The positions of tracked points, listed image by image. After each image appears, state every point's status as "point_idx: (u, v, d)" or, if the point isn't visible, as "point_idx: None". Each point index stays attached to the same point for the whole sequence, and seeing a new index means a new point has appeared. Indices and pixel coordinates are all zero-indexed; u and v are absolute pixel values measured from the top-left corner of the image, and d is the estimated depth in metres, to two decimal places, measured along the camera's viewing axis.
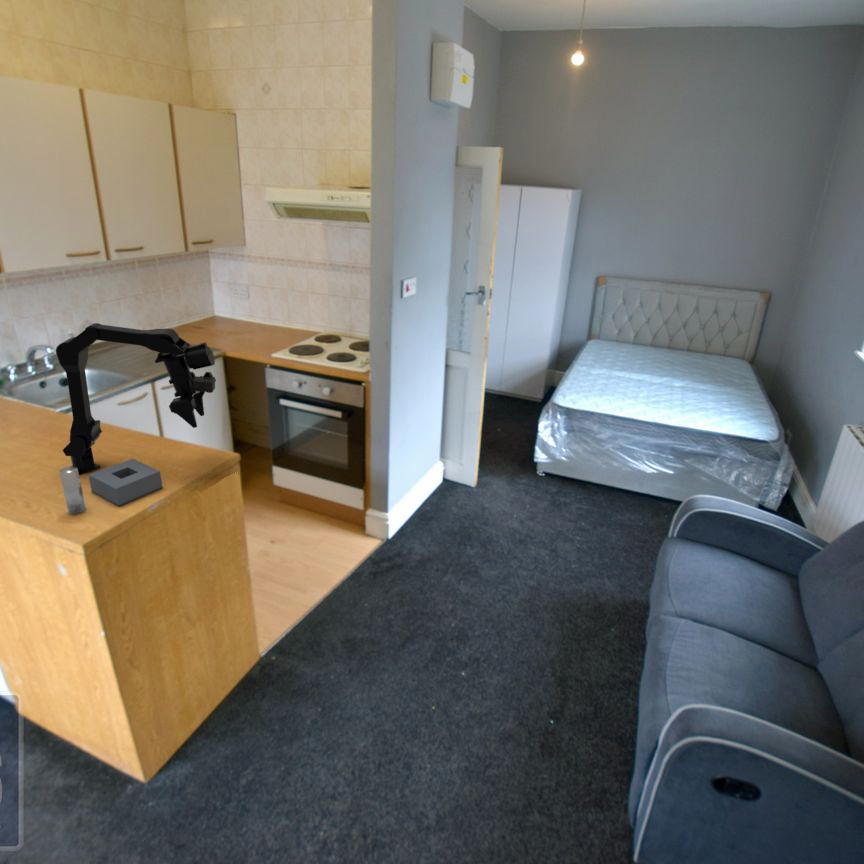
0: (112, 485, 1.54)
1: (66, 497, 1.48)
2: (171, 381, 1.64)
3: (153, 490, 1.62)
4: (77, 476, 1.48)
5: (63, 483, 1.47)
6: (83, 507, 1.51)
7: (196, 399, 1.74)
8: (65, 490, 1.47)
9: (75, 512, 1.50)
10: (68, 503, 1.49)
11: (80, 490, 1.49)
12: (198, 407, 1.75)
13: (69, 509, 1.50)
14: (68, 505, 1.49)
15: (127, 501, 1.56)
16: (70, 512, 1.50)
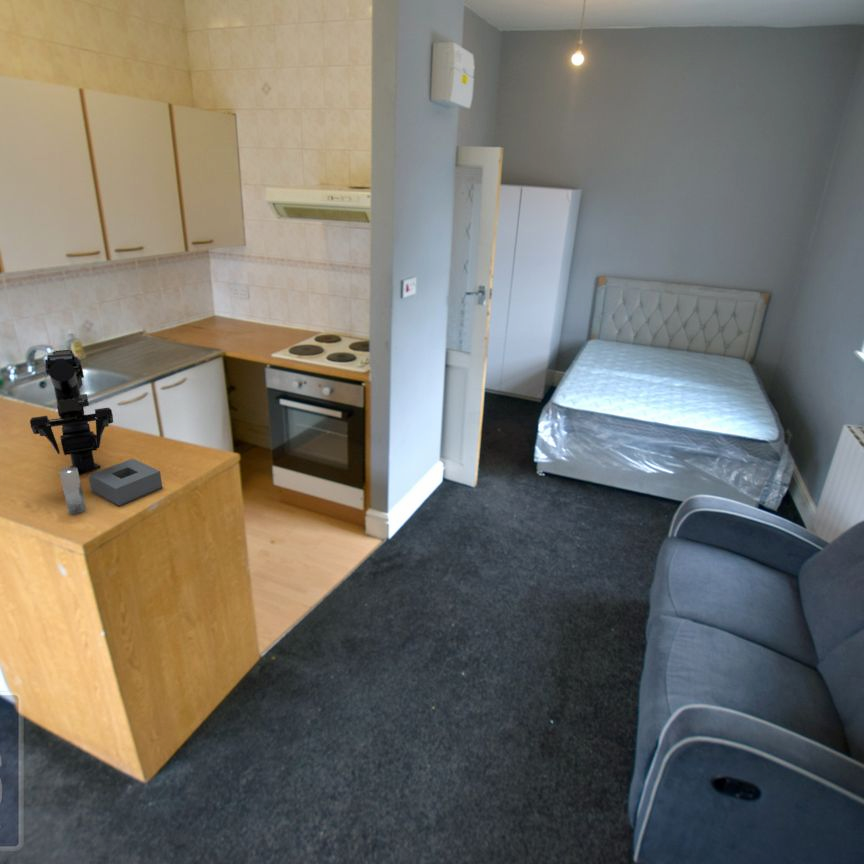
0: (112, 485, 1.54)
1: (66, 497, 1.48)
2: None
3: (153, 490, 1.62)
4: (77, 476, 1.48)
5: (63, 483, 1.47)
6: (83, 507, 1.51)
7: None
8: (65, 490, 1.47)
9: (75, 512, 1.50)
10: (68, 503, 1.49)
11: (80, 490, 1.49)
12: (97, 437, 1.56)
13: (69, 509, 1.50)
14: (68, 505, 1.49)
15: (127, 501, 1.56)
16: (70, 512, 1.50)
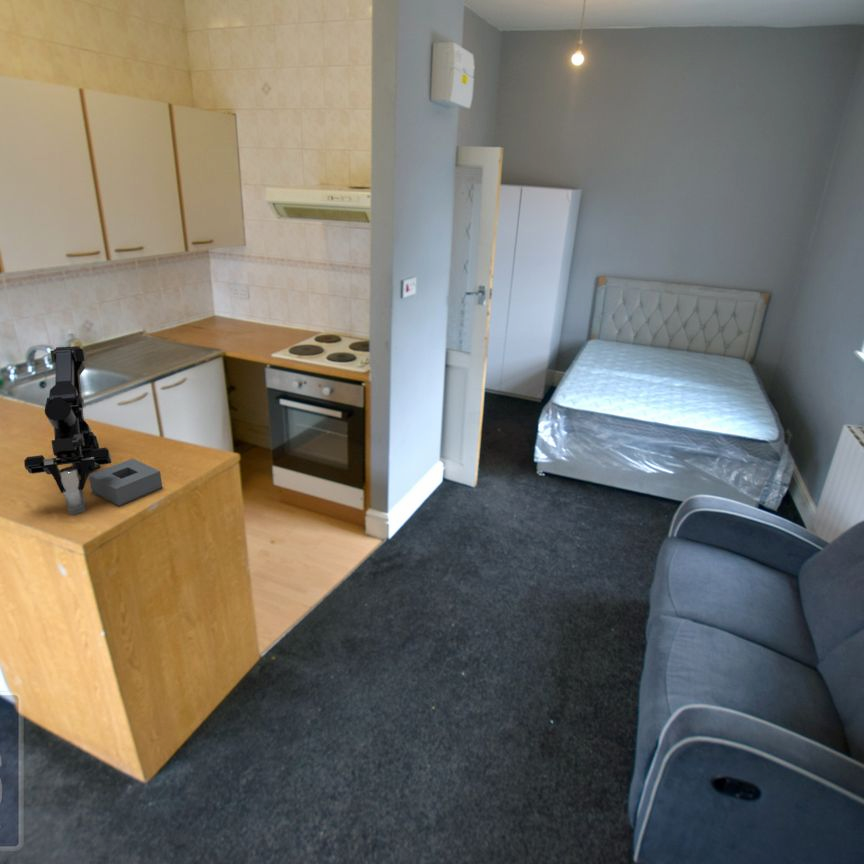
0: (112, 485, 1.54)
1: (66, 497, 1.48)
2: None
3: (153, 490, 1.62)
4: (77, 476, 1.48)
5: (63, 483, 1.47)
6: (83, 507, 1.51)
7: None
8: (65, 490, 1.47)
9: (75, 512, 1.50)
10: (68, 503, 1.49)
11: (80, 490, 1.49)
12: None
13: (69, 509, 1.50)
14: (68, 505, 1.49)
15: (127, 501, 1.56)
16: (70, 512, 1.50)
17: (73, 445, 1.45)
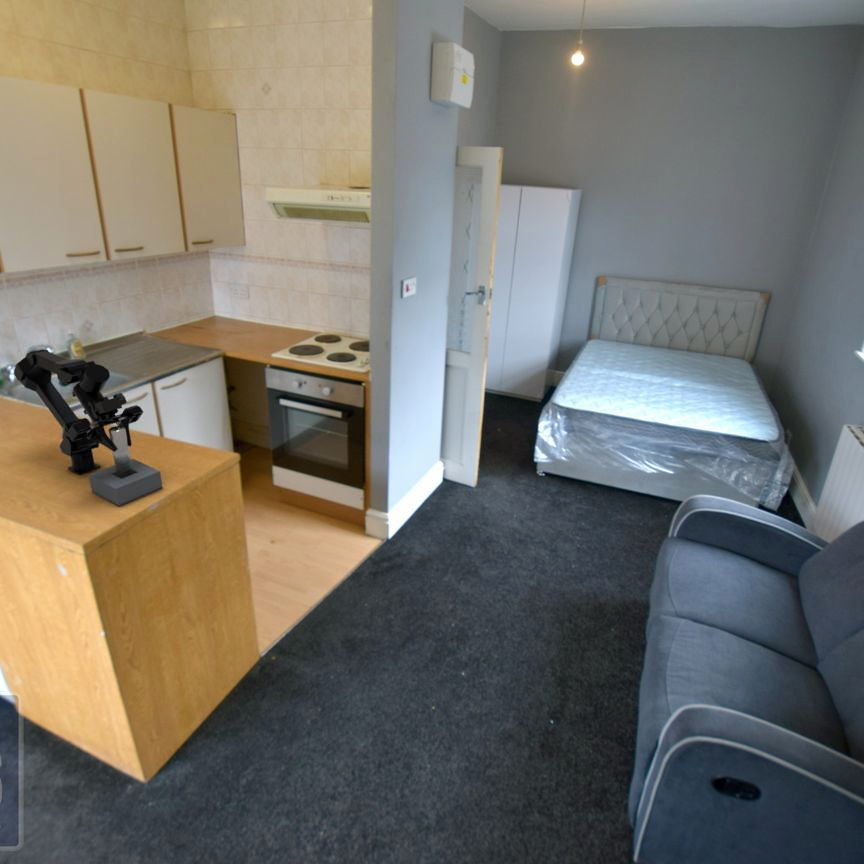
0: (112, 485, 1.54)
1: (118, 455, 1.56)
2: (84, 411, 1.57)
3: (153, 490, 1.62)
4: None
5: (116, 441, 1.55)
6: None
7: None
8: (118, 448, 1.56)
9: (127, 468, 1.59)
10: (120, 461, 1.57)
11: (128, 447, 1.59)
12: None
13: (120, 467, 1.58)
14: (120, 463, 1.57)
15: (127, 501, 1.56)
16: (121, 469, 1.58)
17: (120, 403, 1.54)
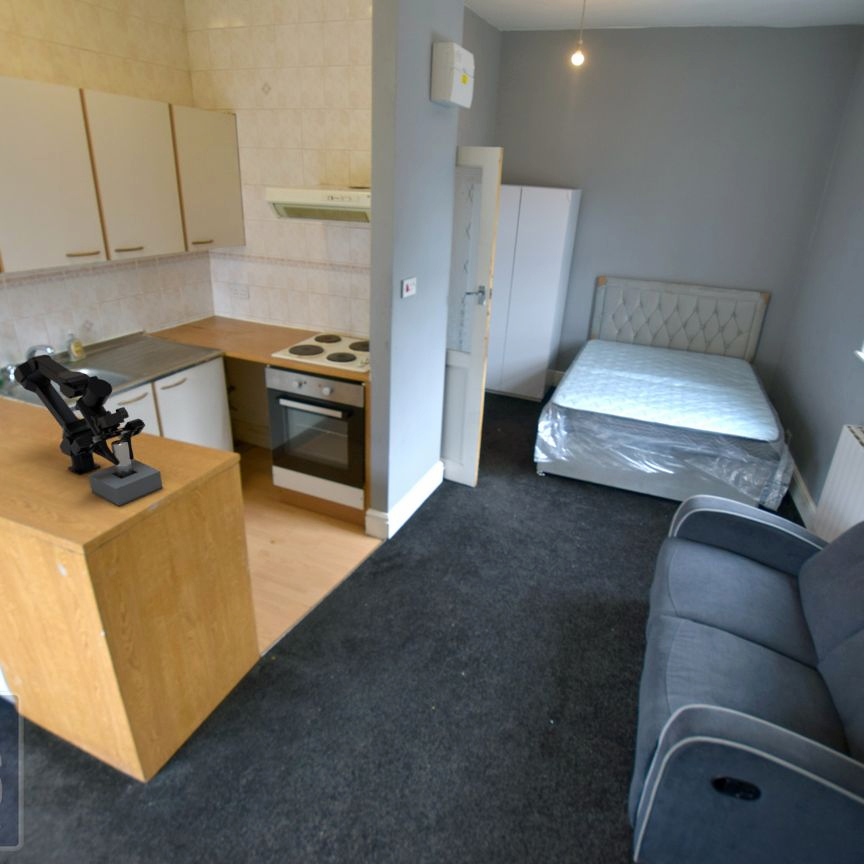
0: (112, 485, 1.54)
1: (120, 468, 1.58)
2: (87, 425, 1.59)
3: (153, 490, 1.62)
4: None
5: (118, 455, 1.56)
6: None
7: None
8: (120, 461, 1.57)
9: None
10: (122, 474, 1.59)
11: (130, 460, 1.60)
12: None
13: None
14: (122, 476, 1.59)
15: (127, 501, 1.56)
16: None
17: (122, 417, 1.56)
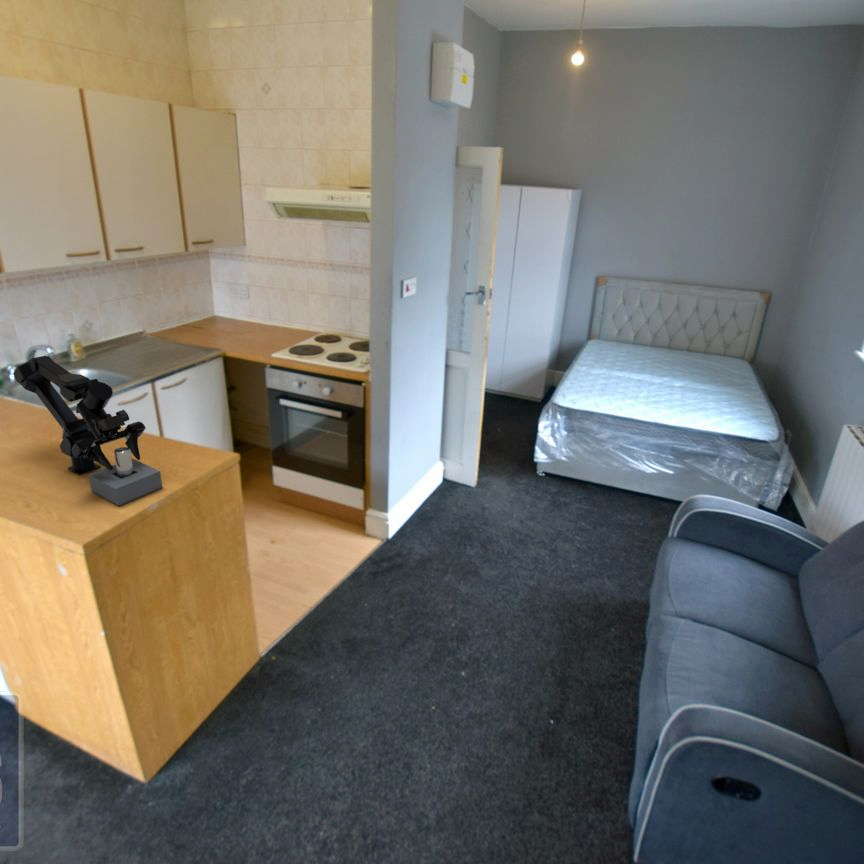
0: (112, 485, 1.54)
1: (122, 476, 1.59)
2: (87, 428, 1.59)
3: (153, 490, 1.62)
4: (130, 454, 1.59)
5: (121, 463, 1.57)
6: None
7: (130, 443, 1.62)
8: (122, 469, 1.58)
9: None
10: None
11: (132, 467, 1.61)
12: (134, 451, 1.62)
13: None
14: None
15: (127, 501, 1.56)
16: None
17: (123, 420, 1.56)
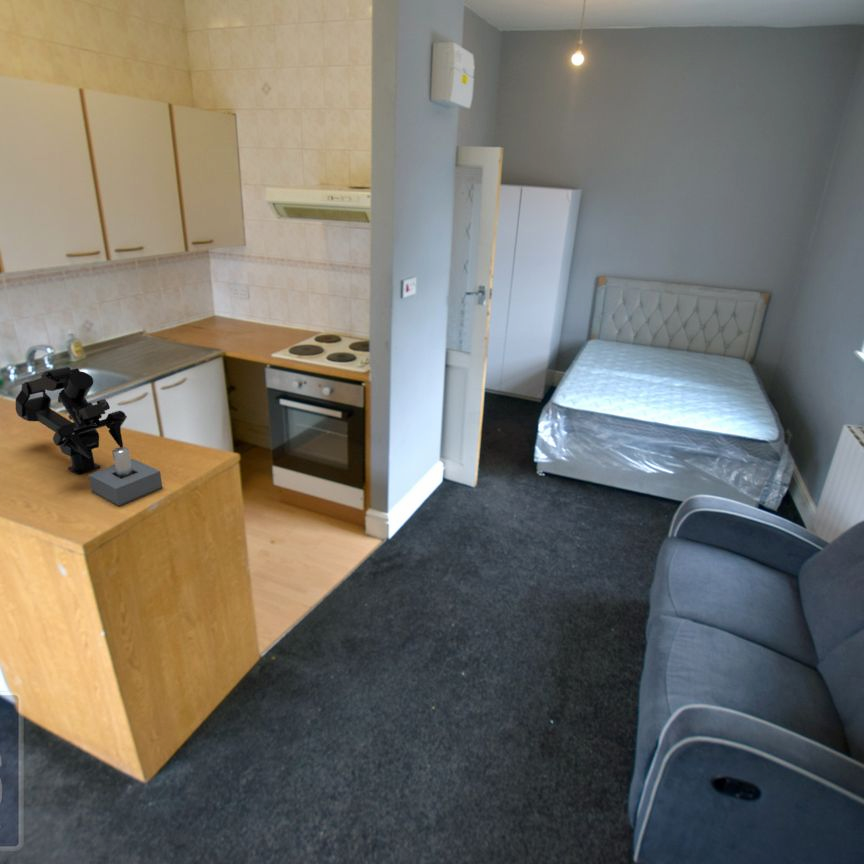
0: (112, 485, 1.54)
1: (121, 476, 1.59)
2: (69, 416, 1.63)
3: (153, 490, 1.62)
4: (129, 454, 1.60)
5: (119, 462, 1.57)
6: None
7: (113, 431, 1.67)
8: (121, 469, 1.58)
9: None
10: None
11: (131, 467, 1.61)
12: (117, 438, 1.67)
13: None
14: None
15: (127, 501, 1.56)
16: None
17: (103, 409, 1.60)
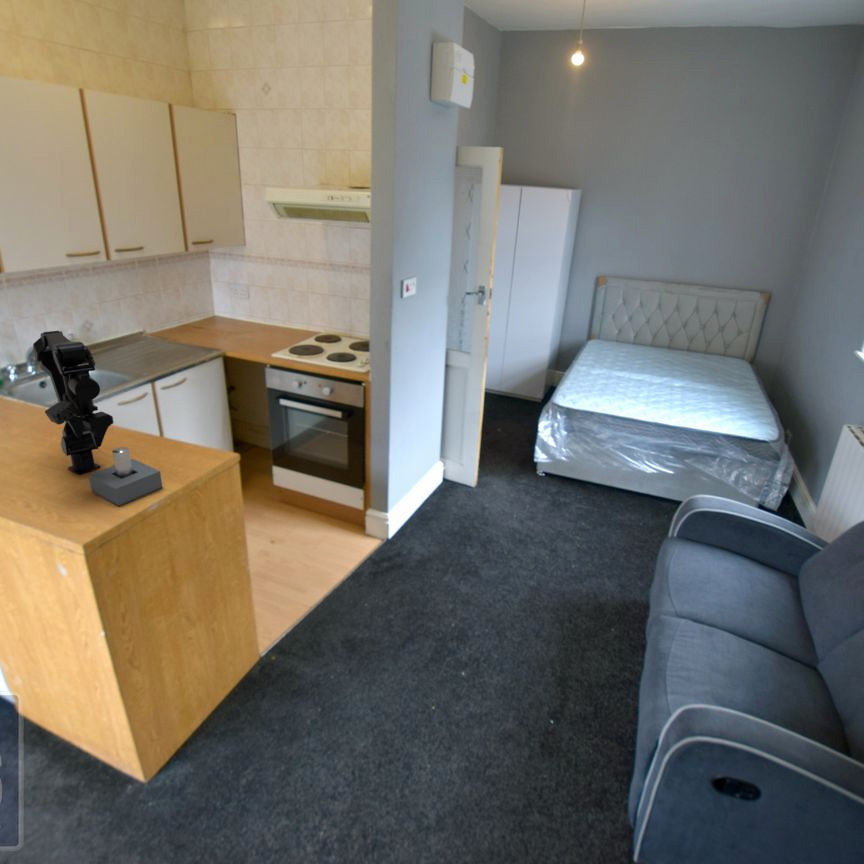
0: (112, 485, 1.54)
1: (121, 476, 1.59)
2: None
3: (153, 490, 1.62)
4: (129, 454, 1.60)
5: (119, 462, 1.57)
6: None
7: None
8: (121, 469, 1.58)
9: None
10: None
11: (131, 467, 1.61)
12: None
13: None
14: None
15: (127, 501, 1.56)
16: None
17: None
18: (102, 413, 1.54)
